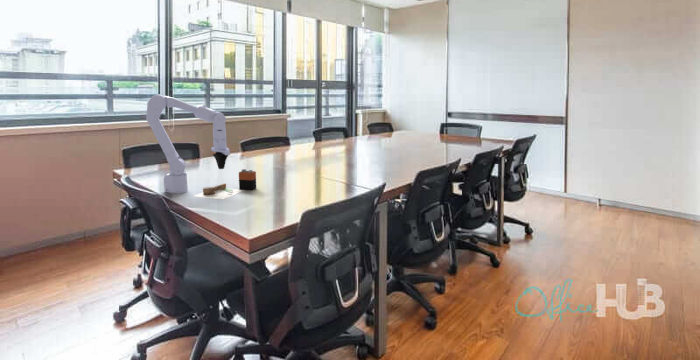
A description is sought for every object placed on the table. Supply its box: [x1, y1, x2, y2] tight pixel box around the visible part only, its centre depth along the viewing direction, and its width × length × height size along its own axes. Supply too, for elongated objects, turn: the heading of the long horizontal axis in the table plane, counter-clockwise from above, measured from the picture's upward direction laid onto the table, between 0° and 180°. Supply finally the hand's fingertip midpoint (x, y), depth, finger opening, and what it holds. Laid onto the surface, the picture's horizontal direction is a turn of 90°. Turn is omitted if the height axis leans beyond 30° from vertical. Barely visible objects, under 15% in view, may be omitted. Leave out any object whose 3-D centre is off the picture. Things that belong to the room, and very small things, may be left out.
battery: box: [238, 168, 257, 191], centre depth 197 cm, size 4×7×10 cm, turn 77°
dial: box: [202, 183, 227, 195], centre depth 192 cm, size 13×5×2 cm, turn 156°
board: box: [194, 187, 245, 200], centre depth 190 cm, size 15×17×1 cm
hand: (221, 168), depth 196 cm, fingers closed
